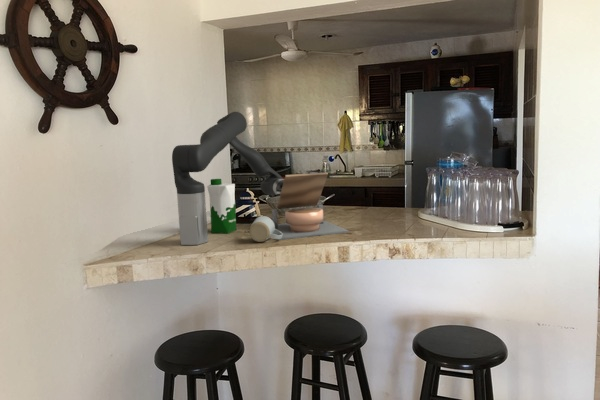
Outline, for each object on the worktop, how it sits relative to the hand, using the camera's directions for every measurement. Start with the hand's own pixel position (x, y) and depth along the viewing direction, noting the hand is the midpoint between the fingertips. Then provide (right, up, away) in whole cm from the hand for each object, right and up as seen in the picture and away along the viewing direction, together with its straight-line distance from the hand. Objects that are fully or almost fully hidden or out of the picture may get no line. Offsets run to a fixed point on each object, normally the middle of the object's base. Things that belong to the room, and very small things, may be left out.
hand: (299, 194), depth 172 cm
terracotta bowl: (+2, -14, -2) cm, 14 cm away
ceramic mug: (-11, -16, -16) cm, 25 cm away
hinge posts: (0, -13, +5) cm, 14 cm away
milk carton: (-29, -14, +2) cm, 32 cm away
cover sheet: (+1, +1, -3) cm, 3 cm away
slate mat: (+1, -13, 0) cm, 13 cm away
